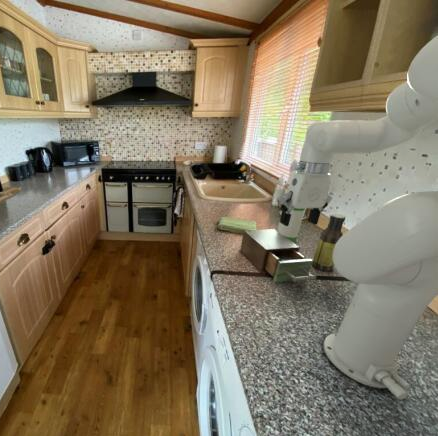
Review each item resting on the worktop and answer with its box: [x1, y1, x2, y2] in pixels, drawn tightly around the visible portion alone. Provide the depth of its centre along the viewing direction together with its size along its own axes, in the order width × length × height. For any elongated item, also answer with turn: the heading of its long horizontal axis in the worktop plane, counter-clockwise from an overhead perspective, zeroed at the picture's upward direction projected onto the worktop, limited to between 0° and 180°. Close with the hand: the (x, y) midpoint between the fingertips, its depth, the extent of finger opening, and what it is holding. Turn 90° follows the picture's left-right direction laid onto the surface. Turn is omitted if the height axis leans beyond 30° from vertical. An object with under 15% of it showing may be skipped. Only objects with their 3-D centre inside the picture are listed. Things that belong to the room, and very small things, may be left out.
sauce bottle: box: [312, 213, 346, 271], centre depth 84 cm, size 6×6×20 cm
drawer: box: [264, 249, 317, 283], centre depth 81 cm, size 18×11×7 cm, turn 9°
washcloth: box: [217, 216, 258, 235], centre depth 117 cm, size 13×18×3 cm
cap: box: [279, 256, 294, 261], centre depth 81 cm, size 4×4×4 cm
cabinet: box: [240, 228, 300, 273], centre depth 90 cm, size 15×13×9 cm
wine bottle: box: [276, 201, 306, 244], centre depth 101 cm, size 8×8×30 cm
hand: (298, 223), depth 75 cm, fingers open, 9 cm apart
